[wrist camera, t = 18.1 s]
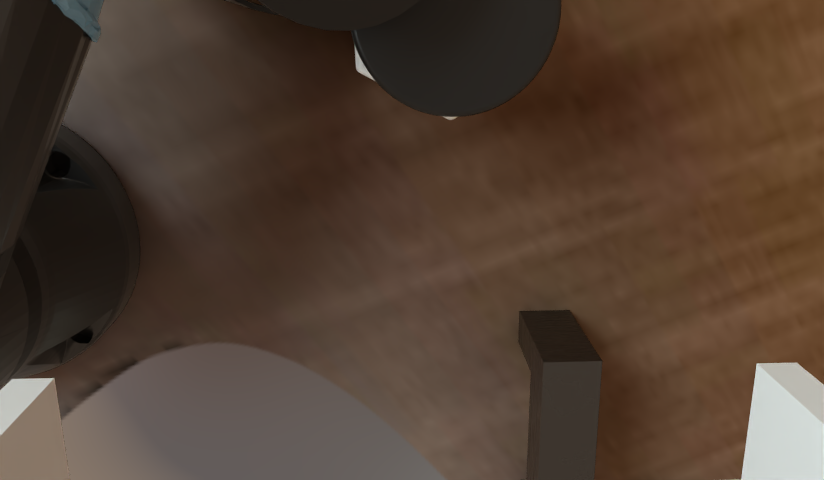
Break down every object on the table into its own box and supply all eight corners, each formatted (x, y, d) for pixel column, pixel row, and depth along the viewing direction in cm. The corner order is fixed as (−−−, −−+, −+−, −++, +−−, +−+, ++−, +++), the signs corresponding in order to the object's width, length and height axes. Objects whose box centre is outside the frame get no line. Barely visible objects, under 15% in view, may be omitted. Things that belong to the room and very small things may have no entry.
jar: (540, -17, 39) (613, -35, 28) (466, 121, 41) (506, 158, 30) (390, -105, 38) (400, -162, 26) (319, 43, 39) (300, 50, 28)
